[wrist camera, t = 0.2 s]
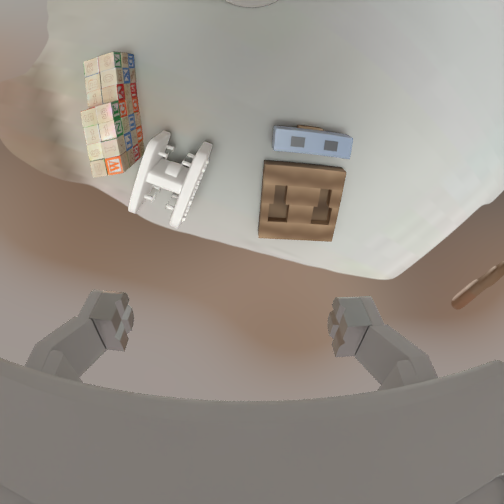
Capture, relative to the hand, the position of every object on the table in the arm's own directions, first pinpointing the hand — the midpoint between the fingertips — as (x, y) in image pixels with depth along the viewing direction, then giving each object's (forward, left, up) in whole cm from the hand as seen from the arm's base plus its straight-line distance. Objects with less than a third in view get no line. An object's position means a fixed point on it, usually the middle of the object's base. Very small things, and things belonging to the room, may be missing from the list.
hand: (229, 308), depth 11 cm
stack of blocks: (-4, -23, -48) cm, 53 cm away
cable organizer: (+9, -12, -48) cm, 50 cm away
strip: (+2, +13, -46) cm, 48 cm away
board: (+15, +13, -47) cm, 51 cm away
